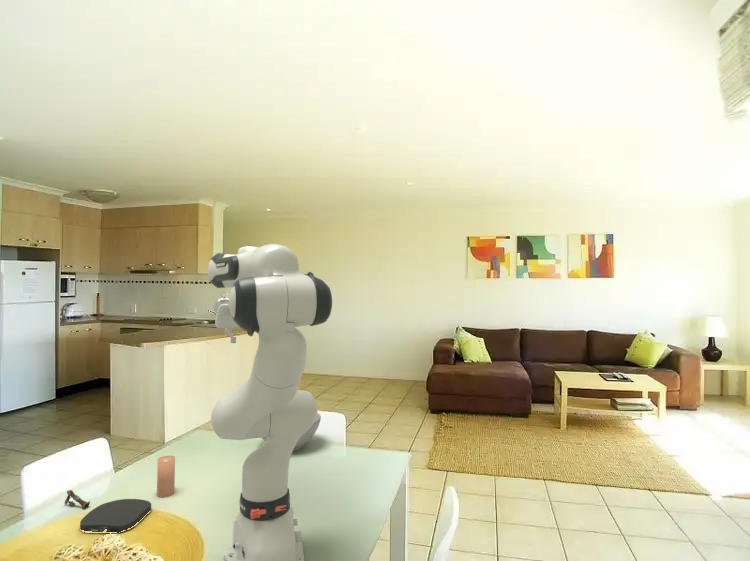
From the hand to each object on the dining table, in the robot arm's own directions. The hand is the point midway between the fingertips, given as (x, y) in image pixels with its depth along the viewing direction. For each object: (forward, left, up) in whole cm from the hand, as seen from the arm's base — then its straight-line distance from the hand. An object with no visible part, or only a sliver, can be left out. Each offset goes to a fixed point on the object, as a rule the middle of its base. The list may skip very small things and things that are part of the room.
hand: (248, 342), depth 138 cm
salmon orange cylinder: (+12, +23, -48) cm, 55 cm away
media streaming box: (0, +35, -49) cm, 60 cm away
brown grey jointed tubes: (+13, +47, -48) cm, 69 cm away
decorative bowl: (+39, -22, -48) cm, 66 cm away
